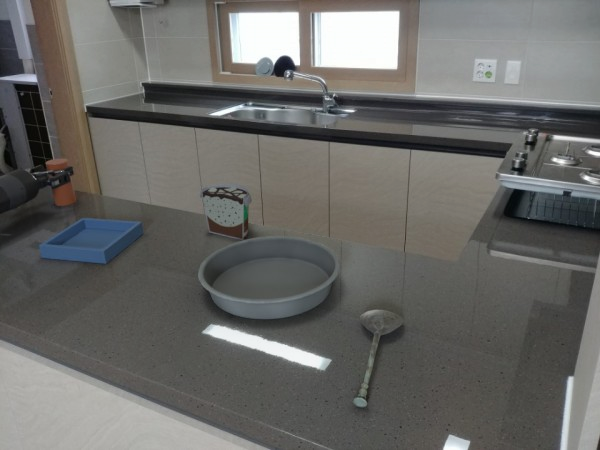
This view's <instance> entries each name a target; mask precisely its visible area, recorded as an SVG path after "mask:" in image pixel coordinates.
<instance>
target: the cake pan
mask: <svg viewBox="0 0 600 450" xmlns="http://www.w3.org/2000/svg"><path fill="white" fill-rule="evenodd" d="M340 271H341V262H340V258H339V256H338V255H337V254H336V252H335V251H334V250H332V249H331V248H330V247H328V246H326V245H325V244H322V243H320V242H318V241H315V240H311V239H307V238H305V237H303V238H302V237H297V236H288V235H286V236H285V235H271V236H270V235H269V236H258V237H253V238H246V239H245V240H238V241H236V242H232V243H230V244H227V245H225V246H223V247H220V248H219V249H217V250H215V251H213V252H212V253H211V254H209V255H208V256H207V257H206V258H205V259H204V260H203V261H202V262H201V263H200V265H199V268H198V272H197V277H198V281H199V283H200V284H201V285H202V287H203V288H204V289H205V290H206V291H208V292H209V295H210V297H211V299H212V301H213V302H214V304H215V305H216V306H217V307H218V308H219V309H221V310H223V311H224V312H226V313H229V314H231V315H233V316H236V317H240V318H245V319H252V320H277V319H284V318H290V317H295V316H297V315H301V314H304V313H306V312H309V311H311V310H313V309H315V308H316V307H317V306H319V305H321V304H322V303H323V302H324V301H325V300H326V299H327V297H328V296H329V294H330V293H331V291H332V286H333V282H334V281H335V280H336V278H337V277H338V276H339V274H340Z"/></svg>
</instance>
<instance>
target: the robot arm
mask: <svg viewBox="0 0 600 450" xmlns="http://www.w3.org/2000/svg"><path fill="white" fill-rule="evenodd" d="M48 174H50V175H51V178H50V180H49V176H48ZM57 174H58V175H57ZM55 175H56V176H55ZM74 175H75V170H74V167H73V166H71V165H69V167H67V168H65V169H62V170H60V171H55V172H53V171H52V170H50V171H47V170H45V167H44V165H43V164H39V165H36V166H34V167H32V168H30V167H29V168H25V169H24V168H19V169H15V170H12V171H10V172H8V173H6V174H3V175H0V215H2V214H4V213H7V212H11V211H12V210H15V209H17V208H19V207H20V206H22V205H25V204H27V203H29V202H31V201H33V200H35V199H36V198H37V197H38V194H39V192H40V190H44V189H45V188H48V187H49V188H52V189H56V188H58V187H60V186H62V185H65V184H67V183H69V182H71V179H70V176H71V177H73V176H74ZM52 189H51V190H52Z"/></svg>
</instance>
